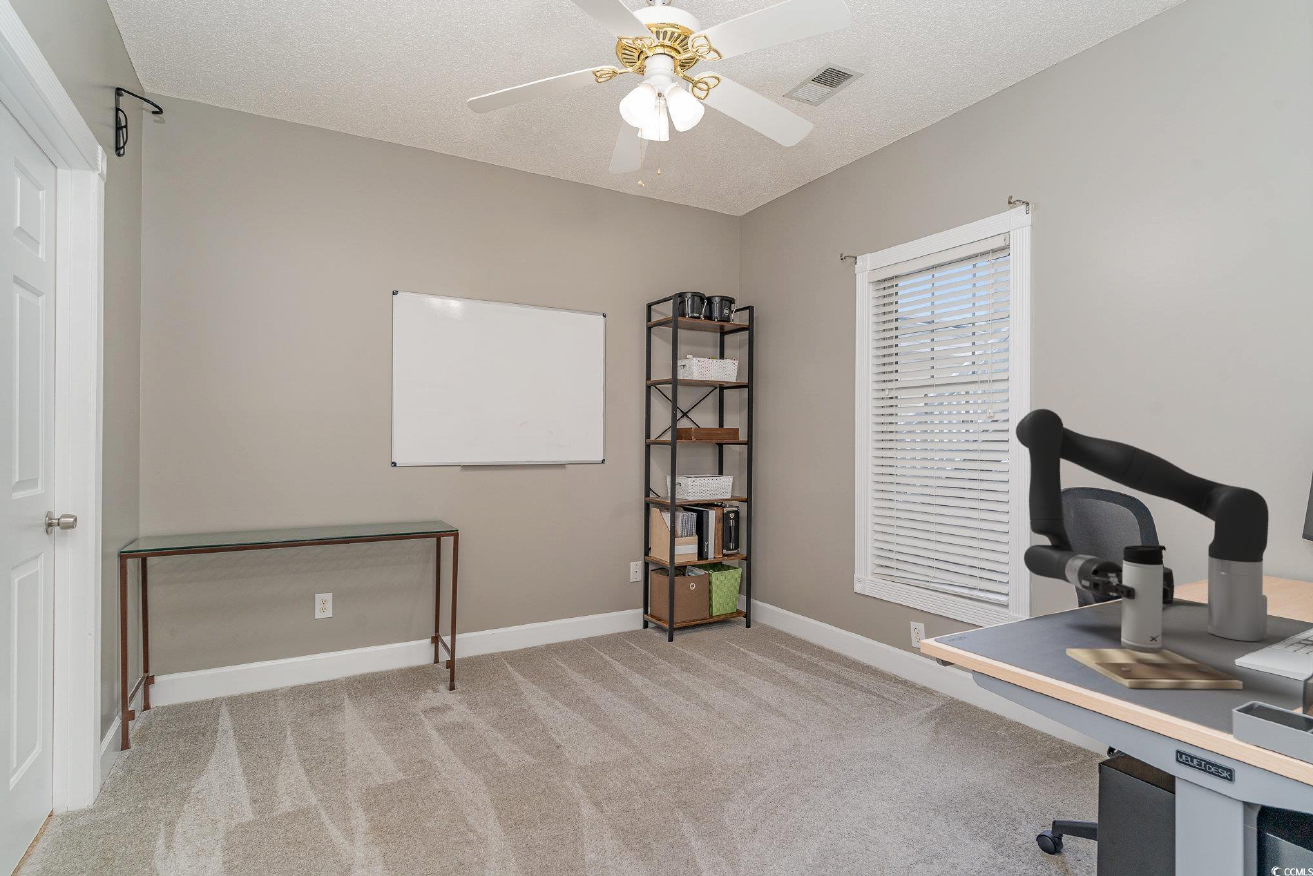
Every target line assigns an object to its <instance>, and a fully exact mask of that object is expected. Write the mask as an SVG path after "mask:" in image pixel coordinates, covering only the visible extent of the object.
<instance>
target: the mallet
mask: <svg viewBox="0 0 1313 876" xmlns="http://www.w3.org/2000/svg"><path fill="white" fill-rule="evenodd" d="M1163 581H1164V582H1166V587H1168V588H1171V590H1172V599H1171V600H1166V599H1162V605H1170V604H1172V603H1173V602H1174V597H1175V594H1174V593H1175V583H1174V581H1175V580H1174V572H1173V570H1172V569H1171V568H1170V567H1166V566H1163Z"/></svg>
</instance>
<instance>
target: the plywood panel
mask: <svg viewBox="0 0 1313 876" xmlns="http://www.w3.org/2000/svg"><path fill="white" fill-rule="evenodd" d="M1065 649H1066V650H1065V654H1067V655H1066V656H1069V657H1070V658H1072V659H1074V660H1076V661H1077V662H1080V663H1081V664H1082V665H1085V666H1087V667H1089V668H1091V669H1092V670H1094V671H1097V673H1100V674H1102V675H1104V676H1106V678H1110V680H1113V681H1115V682H1116V683H1119V684H1120V685H1122V686H1124V687H1126V688H1127V689H1190V690H1191V689H1200V690H1203V689H1206V690H1207V689H1209V690H1210V689H1211V690H1217V689H1218V690H1221V689H1222V690H1243V688H1244V687H1243V681H1241V680H1238V678H1237V677H1234V676H1231V675H1230V674H1227V673H1224V672H1222V671H1220V670H1217V669H1215V668H1213V667H1210V666H1208V665H1205V664H1204V663H1198V662H1197V661H1194V660H1192V659H1189V658H1186V657H1184V656H1183V655H1179V654H1178V653H1174V652H1172V651H1170V650H1167V649H1165V648H1164V649H1162V648H1161V652H1159V653H1155V654H1150V653H1141V652H1136V651H1132V650H1129V649H1126V648H1065Z"/></svg>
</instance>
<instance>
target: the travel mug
mask: <svg viewBox="0 0 1313 876" xmlns="http://www.w3.org/2000/svg"><path fill="white" fill-rule="evenodd" d="M1165 551H1166V552H1167V548H1166V546H1165V545H1161V544H1160V545H1149V544H1148V545H1146V544H1145V545H1143V544H1142V545H1129V546H1125V547H1124V548H1123V551H1122V552H1123V553H1122V554H1123V558H1122V569H1123V581H1122V584H1124V585H1126V586H1130V587H1132V588H1134V589H1135V599H1127V598H1124V597H1122V596H1121V632H1120V633H1121V634H1120V635H1121V638H1120V642H1121V643H1120V644H1121V646H1122V647H1123V649H1129V650H1132V651H1136V652H1141V653H1150V654H1155V653H1159V652H1161V649H1162V638H1163V633H1162V632H1163V604H1162V599H1163V567H1164V560H1163V559H1164V555H1163V553H1164V552H1165Z"/></svg>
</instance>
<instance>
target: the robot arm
mask: <svg viewBox="0 0 1313 876" xmlns="http://www.w3.org/2000/svg"><path fill="white" fill-rule="evenodd" d="M1015 435H1016V438H1017V440H1018V442H1019V443H1020V444H1021V445H1022V446H1024V447H1025V448H1027V449H1028V453H1029V461H1030V462H1029V463H1030V481H1029V489H1028V490H1029V492H1028V510H1029V512H1028V513H1029V520H1030V521H1029V524H1030V530H1031V531H1032V532H1033V533H1034V534H1037V535H1041V536H1044V537H1045V538H1047V539H1048V540H1049V543H1050V544H1034V545H1031V546H1030V547H1028V548H1027V549H1026V551H1025V552H1024V555H1023V561H1024V564H1025V567H1026V568H1027V569H1028V570H1029V572H1031V573H1032V574H1034V575H1036V576H1040V577H1043V578H1049V579H1055V580H1061V581H1064V582H1066V583H1068V584H1071V585H1073V586H1074V587H1075V586H1076V587H1077V588H1078V589H1081V590H1083V591H1087V592H1088V593H1091V594H1094V595H1097V596H1100V597H1101V598H1102V597H1103V598H1113V597H1116V596H1119V597H1121V598H1122V597H1124V598H1127V599H1135V589H1134V588H1132V587H1130V586H1126V585H1124V584H1122V581H1123V567H1121V566H1120V564H1118V563H1116V562H1114V561H1110V560H1107V559H1104V558H1100V557H1096V556H1094V555H1089V554H1083V553H1080V552H1076V551H1074V548H1073V545H1072V544H1071V541H1070V539H1069V536H1068V533H1067V530H1066V527H1065V520H1064V506H1063V497H1062V483H1061V481H1062V480H1061V459H1062V460H1064V461H1067V462H1070V463H1072V464H1075V465H1077V466H1079V467H1081V468H1083V469H1085V470H1087V471H1089V472H1092V473H1093V474H1096V475H1097V476H1101V477H1103V478H1106V479H1107V480H1110V481H1112V482H1115V483H1117V484H1120V485H1123V486H1124V487H1128V488H1129V489H1132V490H1135V491H1138V492H1141V493H1143V494H1144V493H1145V494H1147V495H1150V496H1154V497H1157V498H1162V499H1165V500H1168V501H1172V502H1175V503H1176V504H1180V505H1181V506H1184V507H1186V508H1187V509H1191V510H1192V511H1194V512H1196V513H1198V514H1200V515H1202V516H1204V517H1205V518H1208V519H1209V520H1211V521H1213V522H1214V532H1213V539H1212V540H1211V542H1210V544H1208V550H1207V551H1208V553H1207V554H1208V560H1207V563H1208V565H1207V566H1208V567H1207V568H1208V569H1207V570H1208V571H1207V573H1208V574H1207V579H1208V581H1207V632H1208V633H1209V634H1210V635H1211V634H1212V635H1213V634H1214V636H1217V637H1219V638H1220V637H1221V638H1226V639H1230V640H1236V641H1243V642H1244V641H1245V642H1259V641H1262V640H1267V639H1268V635H1267V634H1268V596H1267V595H1266V594H1264V593H1263V590H1264V589H1263V588H1264V587H1263V586H1264V585H1263V584H1264V579H1263V577H1264V575H1263V572H1264V571H1263V570H1264V569H1263V568H1264V553H1265V551H1266V550H1267V546H1268V537H1269V536H1268V535H1269V534H1268V533H1269V516H1270V515H1269V507H1268V503H1267V501H1266V499H1265V498H1264V497H1263V495H1261V494H1260V493H1259V492H1257V491H1255V490H1253V489H1250V488H1246V487H1241V486H1233V485H1229V484H1224V483H1221V482H1217V481H1214V480H1210V479H1206V478H1204V477H1201V476H1197V475H1194V474H1192V473H1190V472H1187V470H1185V469H1183V468H1180V467H1179V466H1177V465H1175V464H1174V463H1172V462H1170V461H1169V460H1166V459H1165V458H1162V457H1161V456H1158V455H1156V454H1154V453H1151V452H1149V451H1146V450H1144V449H1141V448H1138V447H1136V446H1134V445H1130V444H1127V443H1124V442H1119V441H1116V440H1111V439H1110V440H1109V439H1106V438H1105V439H1104V438H1098V437H1094V436H1089V435H1085V434H1082V433H1078V432H1077V431H1074V430H1071V429H1069V428H1067V427H1064V423H1063V421H1062V419H1061V416H1060V415H1058V414H1057V413H1056V412H1054V411H1053V410H1050V409H1047V408H1037V409H1034V410H1032V411H1030V412H1028V413H1027V414H1026V415H1025V416H1024V417H1023V418H1021V420H1020V421H1019V422H1018V423H1017V425H1016V428H1015ZM1163 599H1166V600H1171V599H1172V590H1171V588H1168V587H1166V582H1164V581H1163Z"/></svg>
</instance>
